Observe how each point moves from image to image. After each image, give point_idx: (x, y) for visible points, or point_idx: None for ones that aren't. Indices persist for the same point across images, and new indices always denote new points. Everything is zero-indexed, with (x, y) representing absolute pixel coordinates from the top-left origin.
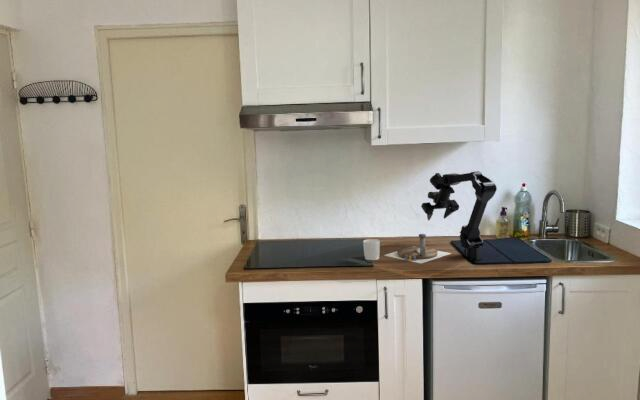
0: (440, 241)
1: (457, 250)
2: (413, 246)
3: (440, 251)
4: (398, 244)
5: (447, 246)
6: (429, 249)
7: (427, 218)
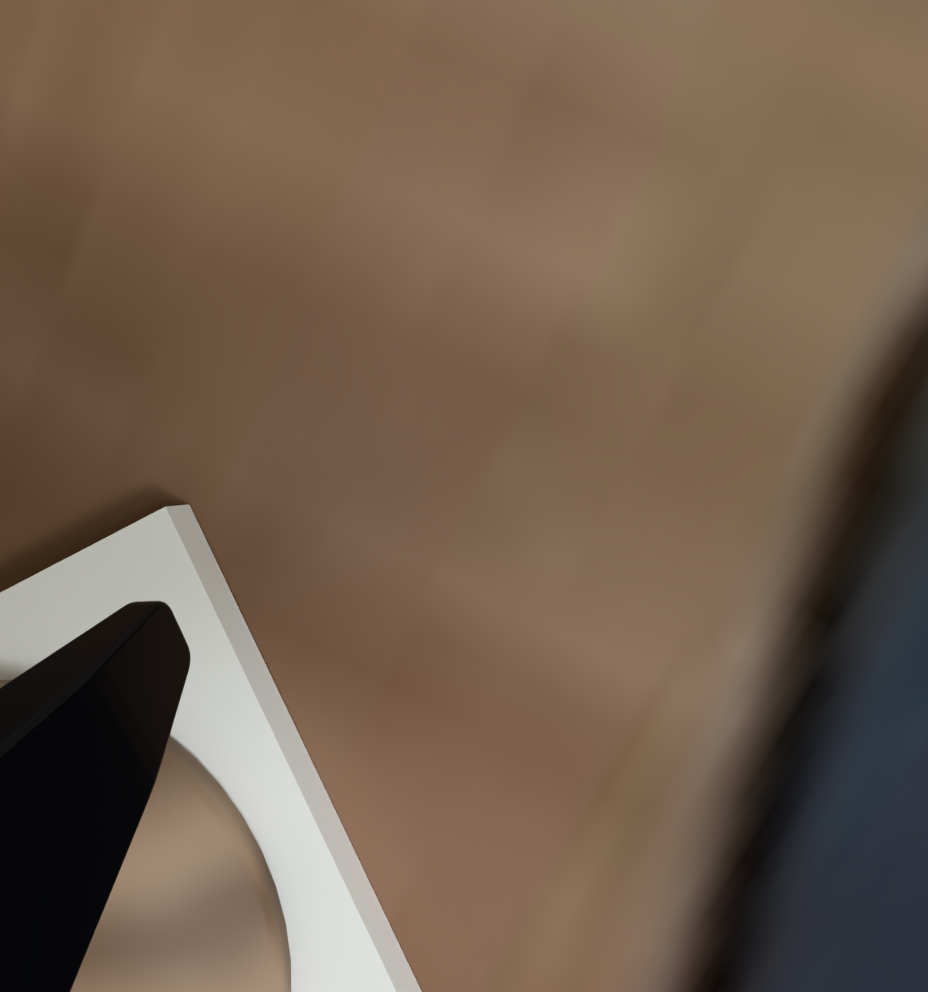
0: (781, 204)
1: (726, 861)
2: (150, 517)
3: (378, 975)
4: (94, 138)
5: (713, 571)
6: (198, 965)
7: (97, 630)
